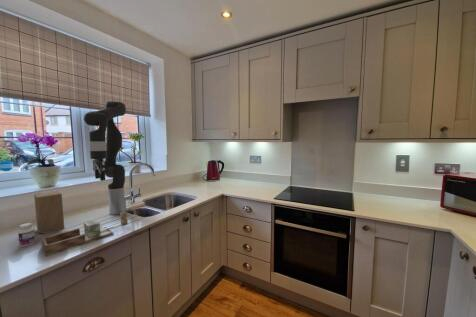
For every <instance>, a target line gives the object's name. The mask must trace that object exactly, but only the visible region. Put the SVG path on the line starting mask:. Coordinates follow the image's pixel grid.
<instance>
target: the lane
mask: <svg viewBox="0 0 476 317" xmlns="http://www.w3.org/2000/svg"><path fill="white" fill-rule="evenodd" d="M107 228H108V227H107V226H105V227H100V230H103V229H107ZM113 235H114V232H113V231H112V229H109V230H106V231H103V232H100V235H97V236H93V237H90V238H88V237H87V236H86V235H85V232H83V233H81V230H80V228H79V227H78V228H75V229H70V230H67V231H63V232H58V233H55V234H51V235H48V236H44V237H41V238H40V239H41V248H42V251H43V253H44V255H45V257H48V256H52V255H55V254H58V253H60V251H61V252H64V251H66V250H70V249H73V248H76V247H79V246H82V245H86V244H89V243H92V242H95V241H98V240H101V239H104V238H108V237H110V236H113ZM57 252H58V253H57ZM54 253H55V254H54Z"/></svg>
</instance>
